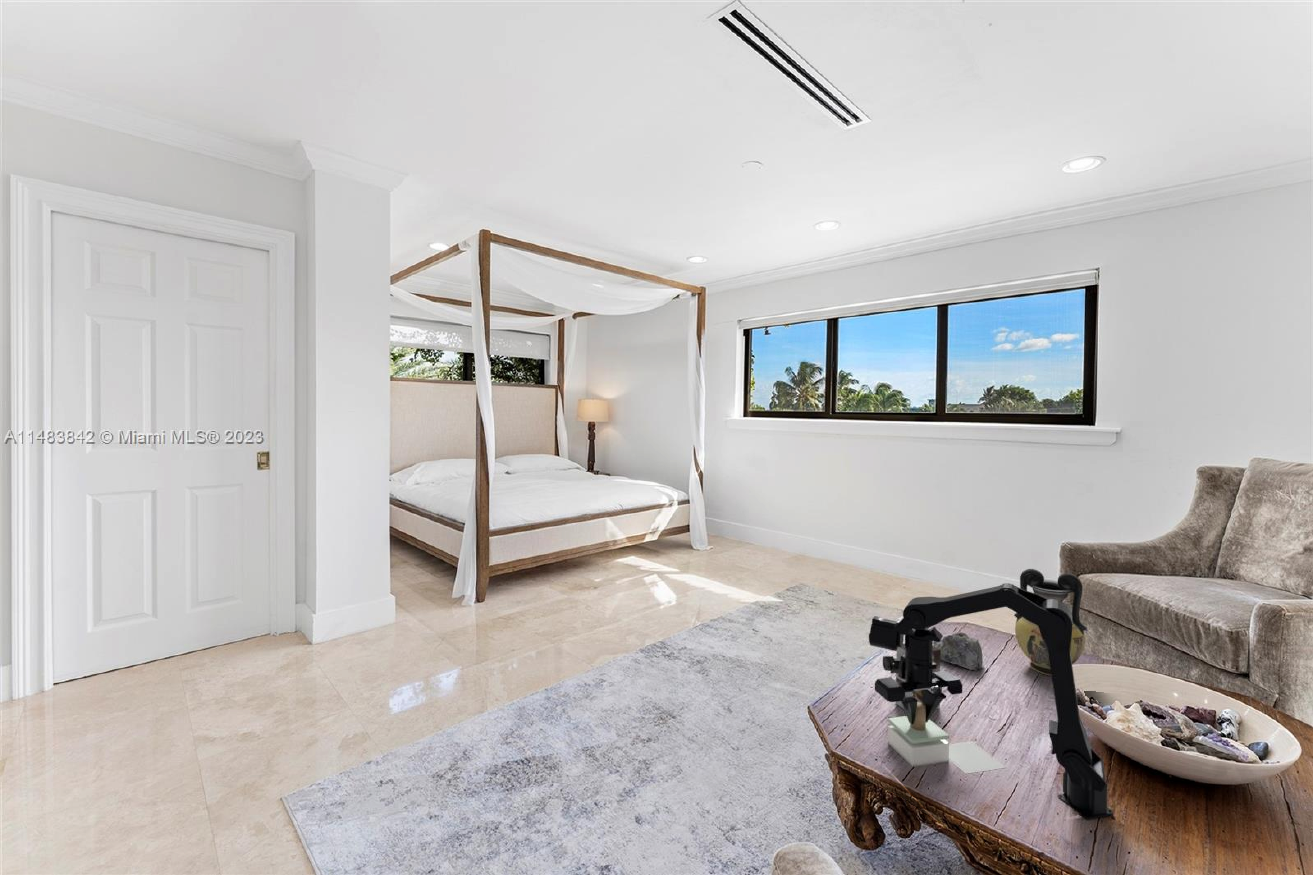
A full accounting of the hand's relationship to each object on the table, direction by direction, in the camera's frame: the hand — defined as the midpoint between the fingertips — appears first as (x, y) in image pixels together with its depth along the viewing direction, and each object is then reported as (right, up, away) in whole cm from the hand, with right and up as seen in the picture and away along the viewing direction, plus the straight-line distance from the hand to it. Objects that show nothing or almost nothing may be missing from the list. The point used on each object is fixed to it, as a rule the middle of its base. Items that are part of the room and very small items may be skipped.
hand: (918, 722), depth 128 cm
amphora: (+57, -5, +40) cm, 70 cm away
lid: (0, -2, 0) cm, 2 cm away
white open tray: (0, -7, 0) cm, 7 cm away
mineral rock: (+33, -5, +46) cm, 57 cm away
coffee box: (+9, -6, +21) cm, 23 cm away
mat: (+11, -7, -2) cm, 13 cm away
